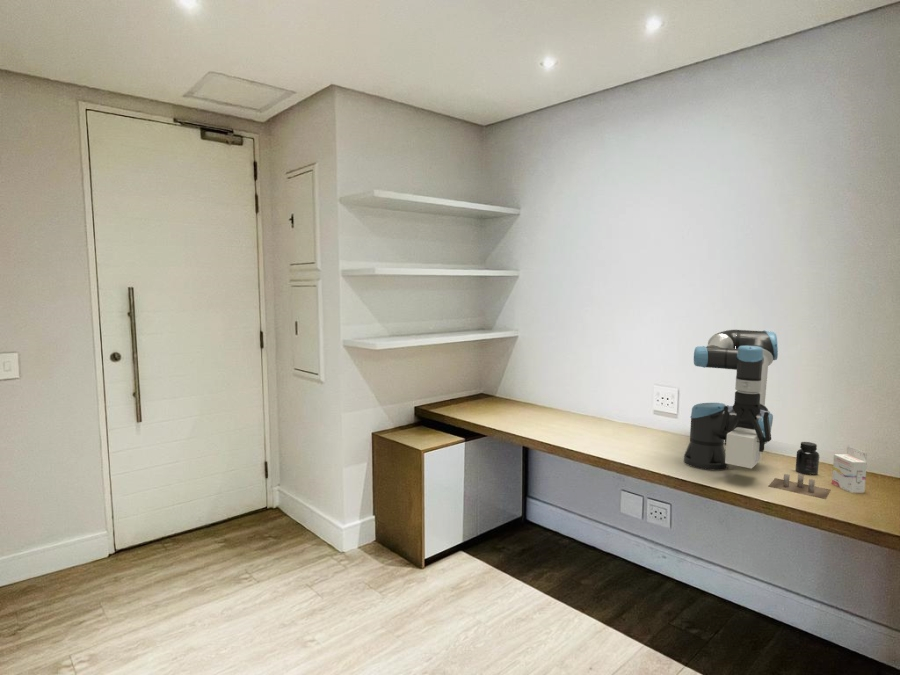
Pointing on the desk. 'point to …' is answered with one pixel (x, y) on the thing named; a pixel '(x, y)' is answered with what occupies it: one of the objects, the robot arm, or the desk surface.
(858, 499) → the desk surface
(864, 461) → the ink cartridge box
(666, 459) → the desk surface
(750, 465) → the block
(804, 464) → the supplement bottle
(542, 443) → the desk surface
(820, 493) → the pin board
